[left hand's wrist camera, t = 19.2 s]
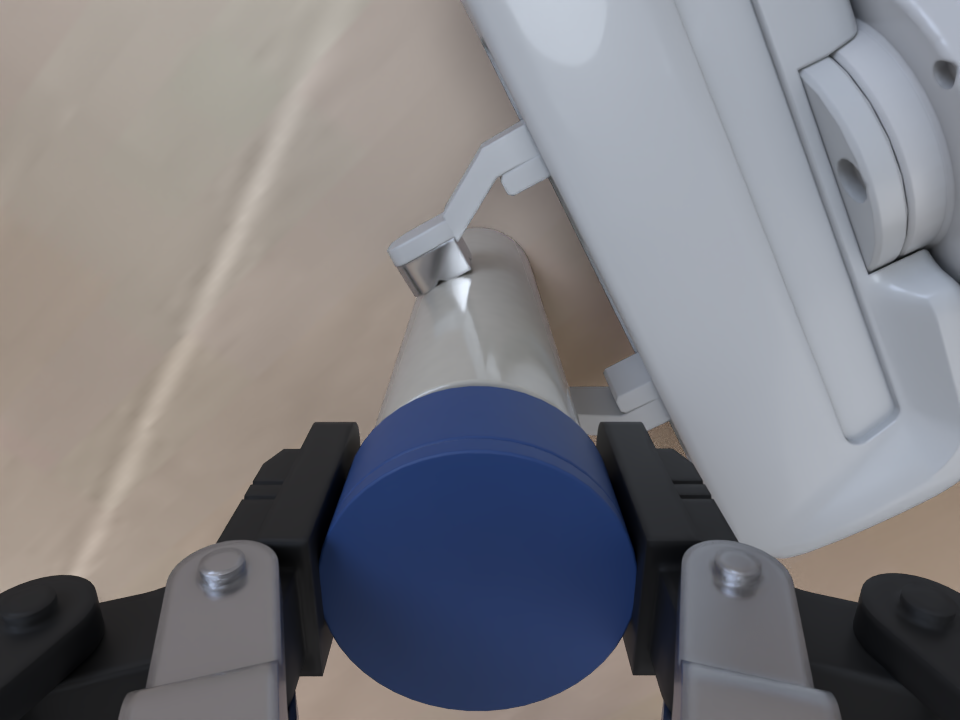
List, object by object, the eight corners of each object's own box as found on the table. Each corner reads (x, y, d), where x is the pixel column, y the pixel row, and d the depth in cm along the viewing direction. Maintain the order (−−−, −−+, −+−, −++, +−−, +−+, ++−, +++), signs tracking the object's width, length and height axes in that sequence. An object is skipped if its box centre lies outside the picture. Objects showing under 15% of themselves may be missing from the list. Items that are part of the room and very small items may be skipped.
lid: (510, 648, 12) (516, 754, 10) (297, 535, 11) (259, 626, 9) (665, 475, 11) (706, 557, 9) (438, 331, 10) (428, 387, 8)
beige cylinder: (420, 230, 24) (322, 442, 9) (530, 223, 24) (616, 424, 9) (430, 335, 26) (359, 666, 11) (534, 328, 26) (613, 653, 10)
